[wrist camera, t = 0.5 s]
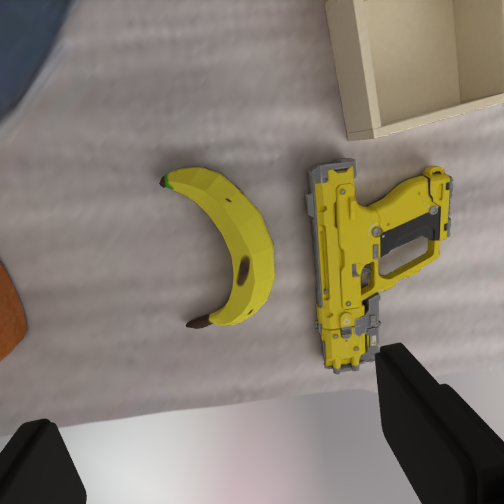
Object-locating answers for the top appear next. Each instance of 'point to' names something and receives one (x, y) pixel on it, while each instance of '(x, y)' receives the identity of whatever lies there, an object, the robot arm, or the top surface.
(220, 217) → the banana
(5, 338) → the bread
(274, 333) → the top surface
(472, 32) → the open wooden box
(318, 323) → the toy gun
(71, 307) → the top surface
